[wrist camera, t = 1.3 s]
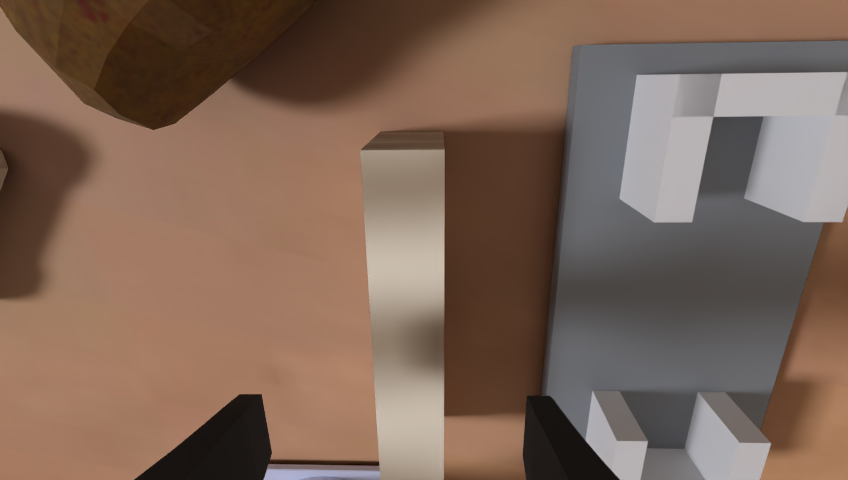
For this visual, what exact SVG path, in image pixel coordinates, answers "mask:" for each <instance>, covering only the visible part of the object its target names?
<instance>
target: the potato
mask: <svg viewBox="0 0 848 480" xmlns="http://www.w3.org/2000/svg"><path fill="white" fill-rule="evenodd" d="M315 1H316V0H0V7H1V8H2V10H3V11H4V13H5V14H6V16H7V17H8V19H9V21H10V22H11V24H12V25H13V27H14V28H15V30H16V31H17V32H18V33H19V34H20V35H21V37H22V38H23V39H24V40H25V41H26V42H27V43H28V44H29V45H30V46H31V47H32V48H33V49H34V50H35V51H36V53H37V54H38V55H39V56H40V57H41V58H42V59H43V60H44V61H45V62H46V63H47V64H48V65H49V66H50V67H51V69H52V70H53V71H54V72H55V73H56V74H57V75H58V76H59V77H60V78H61V79H62V80H63V81H64V82H65V84H66V85H67V86H68V87H69V88H70V89H71V90H72V91H73V92H74V93H75V94H76V95H77V96H78V97H79V98H80V100H81V101H82V102H83V103H84V104H87V105H89V106H91V107H93V108H95V109H97V110H100V111H102V112H104V113H106V114H108V115H111V116H113V117H115V118H117V119H121V120H124V121H127V122H130V123H133V124H137V125H140V126H143V127H146V128H149V129H152V130H155V129H158V128H162V127H165V126H168V125H172V124H175V123H176V122H177V121H179V120H180V119H181V118H182V117H184V116H185V115H186V114H188V113H189V112H190V111H191V110H193V109H194V108H195V107H196V106H198V105H199V104H200V103H201V102H203V101H204V100H205V99H206V98H208V97H209V96H210V95H212V94H213V93H214V92H215V91H216V90H218V89H219V88H220V87H221V86H222V85H223V84H225V83H226V82H227V81H228V80H229V79H231V78H232V77H233V76H234V75H235V74H236V73H238V72H239V71H240V70H241V69H242V68H244V67H245V66H246V65H247V64H248V63H249V62H251V61H252V60H253V59H254V58H255V57H256V56H257V55H259V54H260V53H261V52H262V51H263V50H264V49H266V48H267V47H268V46H269V45H270V44H271V43H272V42H273V41H274V40H275V39H277V38H278V37H279V36H280V35H281V34H282V33H283V32H284V31H286V30H287V29H288V28H289V27H290V26H291V25H292V24H293V23H294V22H295V21H296V20H297V19H298V18H299V17H300V16H301V15H302V14H303V13H304V12H305V11H306V10H307V9H308V8H309V7H310V6H311V5H312V4H313V3H314V2H315Z"/></svg>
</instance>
